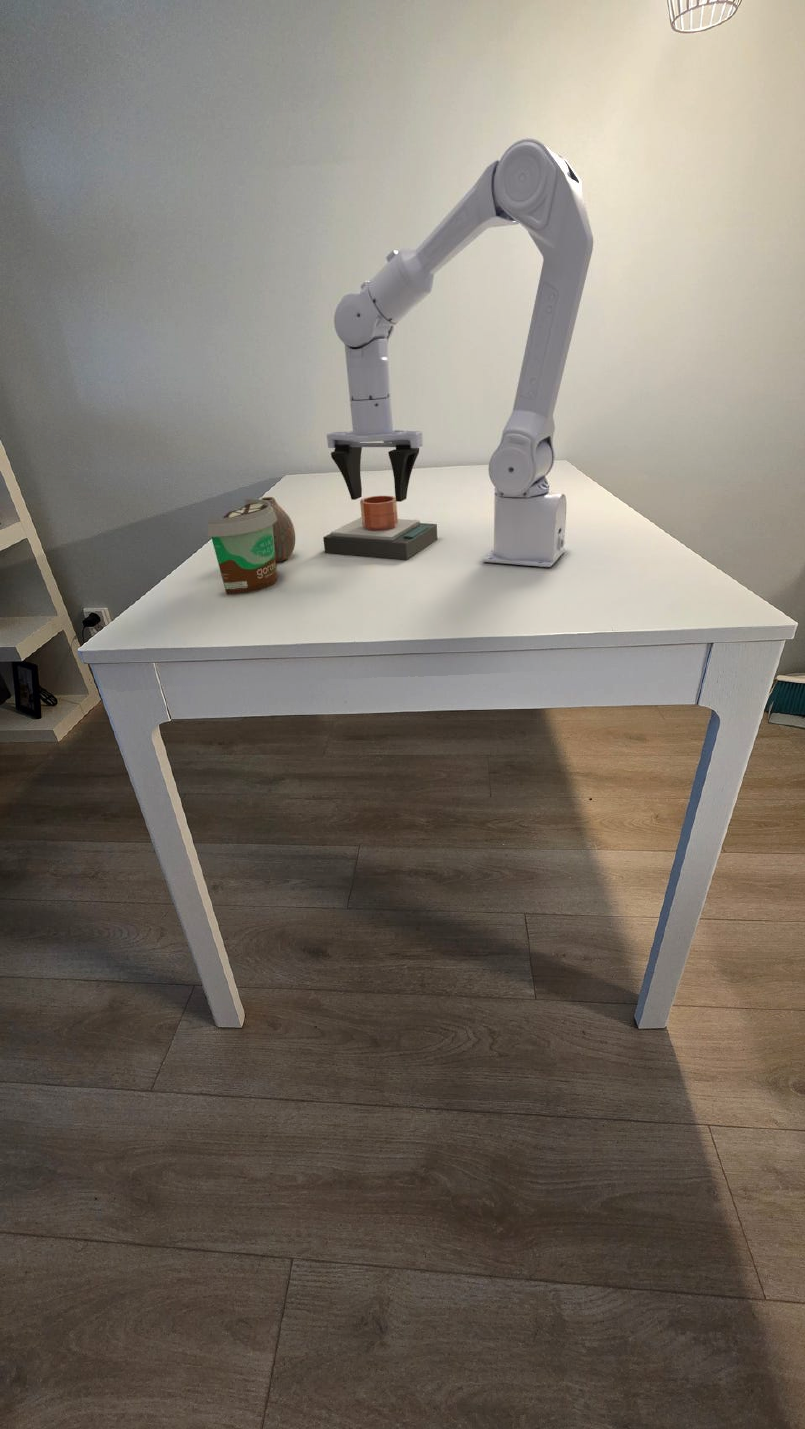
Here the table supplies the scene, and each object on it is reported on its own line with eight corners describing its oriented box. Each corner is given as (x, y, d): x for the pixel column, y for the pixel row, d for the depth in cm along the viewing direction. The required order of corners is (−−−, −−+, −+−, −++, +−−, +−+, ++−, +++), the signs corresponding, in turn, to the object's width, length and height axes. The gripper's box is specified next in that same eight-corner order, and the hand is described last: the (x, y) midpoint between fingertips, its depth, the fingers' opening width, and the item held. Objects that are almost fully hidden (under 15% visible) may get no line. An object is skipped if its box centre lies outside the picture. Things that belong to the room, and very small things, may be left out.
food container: (265, 599, 82) (251, 519, 77) (221, 598, 83) (204, 520, 78) (298, 568, 92) (288, 496, 87) (258, 568, 93) (246, 497, 88)
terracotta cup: (404, 523, 99) (402, 496, 97) (387, 532, 95) (385, 504, 93) (373, 521, 101) (371, 495, 99) (356, 530, 97) (353, 503, 95)
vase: (243, 564, 96) (232, 503, 91) (268, 550, 101) (259, 493, 97) (283, 566, 93) (273, 505, 89) (306, 553, 99) (298, 494, 94)
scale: (437, 539, 101) (436, 520, 99) (407, 560, 92) (405, 539, 91) (360, 533, 106) (358, 515, 105) (324, 552, 98) (322, 533, 97)
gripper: (310, 402, 89) (323, 503, 96) (404, 400, 83) (410, 507, 90) (337, 397, 94) (347, 493, 101) (427, 394, 88) (431, 496, 95)
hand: (378, 499), depth 96 cm, fingers open, 7 cm apart
